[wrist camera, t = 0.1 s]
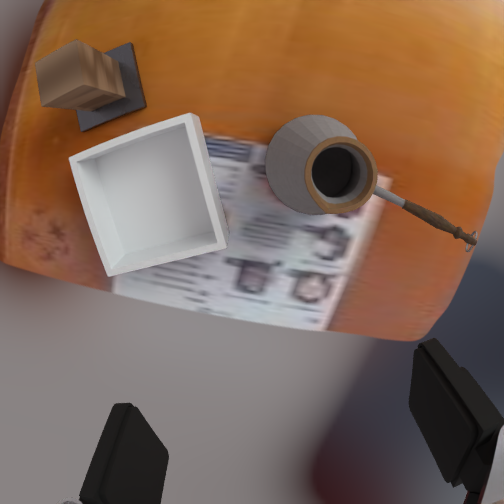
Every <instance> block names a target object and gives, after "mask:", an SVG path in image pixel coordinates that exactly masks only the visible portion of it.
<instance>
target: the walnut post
mask: <svg viewBox="0 0 504 504" xmlns="http://www.w3.org/2000/svg"><path fill="white" fill-rule="evenodd" d="M35 65H36V73H37V81H38V87H39V94H40V100H41V106H42V107H53V108H64V109H73V110H82V111H90V112H91V111H93V110H95V109H98V108H100V107H102V106H104V105H107V104H109V103H112V102H114V101H117V100H119V99H121V98H124V97H126V96H125V91H124V87H123V82H122V78H121V73H120V68H119V63H118V61H116V60H115V59H113V58H111V57H109V56H107V55H106V54H104V53H102V52H100V51H98V50H96V49H94V48H92V47H90V46H89V45H87V44H85V43H83V42H81V41H79V40H77V39H76V40H74V41H72V42H70V43H68V44H66V45H65V46H63V47H61V48H59V49H57V50H56V51H54V52H52V53H51V54H49V55H47V56H45V57H44V58H42V59H41V60H39V61H37V62H36V63H35Z"/></svg>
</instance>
